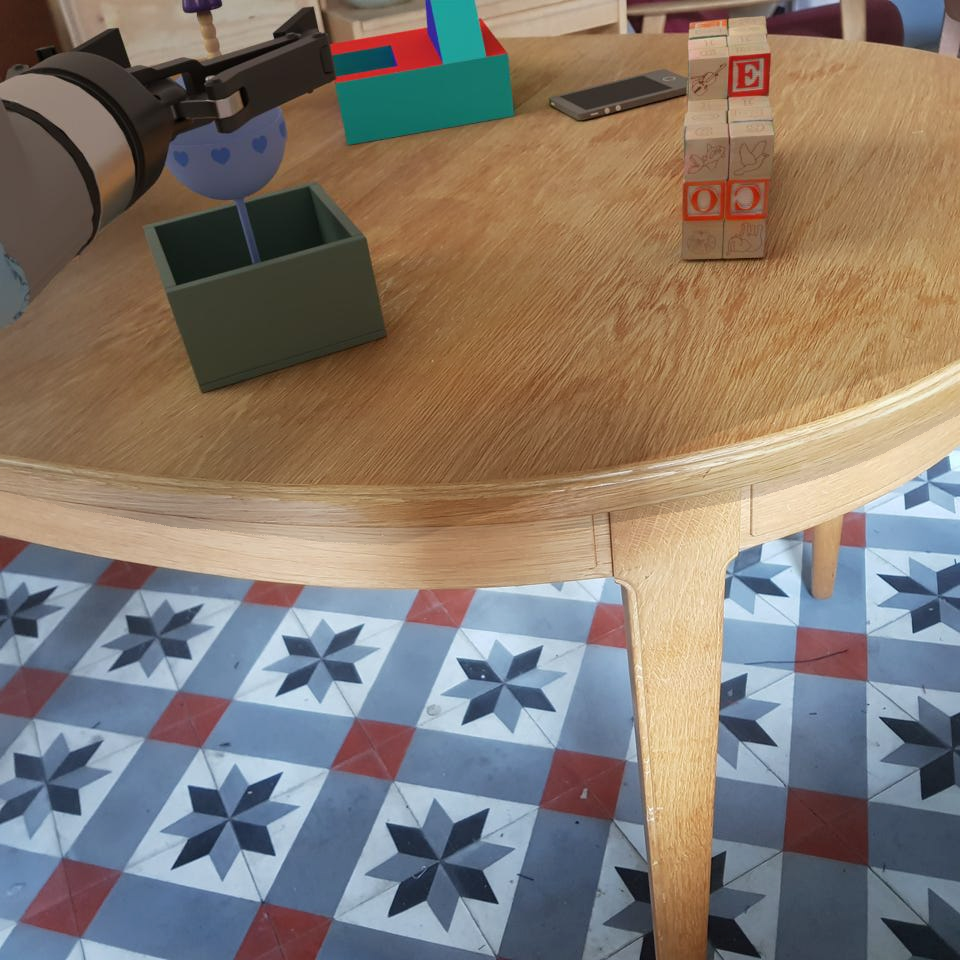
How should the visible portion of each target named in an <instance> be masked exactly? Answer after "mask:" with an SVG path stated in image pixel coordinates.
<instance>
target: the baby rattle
mask: <svg viewBox="0 0 960 960" xmlns="http://www.w3.org/2000/svg"><path fill="white" fill-rule="evenodd" d="M174 81H175V82H176V83H178V84H179V85H180V86H182V87H183V88H184V89H185V90H186V88H185V85H184V81H183V78H182V75H180V76H178V77H177V78H176V79H175V80H174ZM287 140H288V128H287V123H286V119H285V116H284V113H283V110H282V109H281V107H280V106H278V107H276V108H273V109H271V110H269V111H267V112H265V113H263V114H260V115H258V116H256V117H254V118H252V119H251V120H249V121H248V122H247V123H246V124H244V125H243V126H242V127H241V128H239V129H238V130H236V131H234V132H232V133H229V134H226V133H224V134H222V133H218V131H217V128H216V125H215V121H213V122H212V123H210V124H208V125H205V126H202V127H199V128H196V129H193V130H190V131H187V132H185V133H182V134H179V135H177V137H176V138H175V140H174V141H172V142H170V144H169V149H168V154H167V158H166V162H165V166H164V167H167V169H168V171H169V172H170V173H171V174H172V175H173V177H174V178H175V179H177V181H178V182H179V183H181V185H183V186H184V187H185V188H187V189H189V190H190V191H191V192H193V193H195V194H197V195H200V196H202V197H205V198H208V199H212V200H219V201H233V202H236V205H237V208H238V212H239V215H240V220H241V222H242V227H243V229H244V234H245V237H246V241H247V244H248V248H249V251H250V255H251V258H252V263H253V264H257V263H260V262H261V261H260V258H259V253H258V250H257V246H256V243H255V239H254V236H253V231H252V229H251V224H250V221H249V217H248V214H247V209H246V206H245V202H244V199H246V198H247V197H250V196H252V195H254V194H256V193H258V192H259V191H261V190H262V189H264V187H266V186H267V185H268V184H269V183H270V182H271V181H272V179H273V178H274V177H275V175H276V174H277V172H278V171H279V170H280V169H279V168H280V167H281V164H282V162H283V159H284V157H285V156H284V155H285V150H286V142H287Z"/></svg>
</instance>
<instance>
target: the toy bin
mask: <svg viewBox="0 0 960 960" xmlns="http://www.w3.org/2000/svg"><path fill="white" fill-rule="evenodd" d="M244 202H245V206H246V209H247V214H248V217H249V221H250V224H251V229H252V231H253V236H254V239H255V243H256V246H257V250H258V253H259V258H260V261H261V262H260V263H257V264H253V263H252V258H251V255H250V251H249V248H248V244H247V241H246V237H245V234H244V229H243V227H242V222H241V220H240V215H239V212H238V208H237V205H236V202H235V201H233V202H230V203H225V204H221V205H217V206H214V207H211V208H206V209H203V210H198V211H195V212H191V213H187V214H183V215H179V216H175V217H172V218H167V219H164V220H160V221H156V222H153V223H148V224H145V225H142V229H143V232H144V235H145V238H146V241H147V244H148V246H149V250H150V253H151V255H152V259H153V261H154V263H155V266H156V269H157V272H158V275H159V278H160V281H161V284H162V287H163V290H164V292H165V295H166V298H167V301H168V304H169V306H170V309H171V312H172V315H173V317H174V320H175V324H176V326H177V329H178V331H179V335H180V338H181V340H182V343H183V346H184V349H185V351H186V354H187V356H188V360H189V362H190V366H191V368H192V371H193V374H194V377H195V380H196V383H197V385H198V387H199V391H200V393H201V394H203V393H207V392H210V391H213V390H217V389H220V388H223V387H227V386H230V385H233V384H236V383H239V382H243V381H245V380H249V379H252V378H255V377H259V376H262V375H265V374H269V373H271V372H275V371H279V370H282V369H285V368H288V367H293V366H294V365H297V364H302V363H305V362H307V361H311V360H314V359H316V358H317V359H318V358H320V357H324V356H327V355H331V354H334V353H337V352H340V351H343V350H347V349H350V348H353V347H356V346H360V345H363V344H366V343H369V342H373V341H376V340H379V339H382V338H386V337H387V336H388V335H387V329H386V325H385V320H384V316H383V311H382V306H381V300H380V297H379V292H378V291H379V290H378V286H377V282H376V277H375V273H374V272H375V271H374V267H373V263H372V257H371V253H370V248H369V243H368V238H367V237H366V235H365V234H364V232H362V230H360V229H359V227H358V226H357V225H356V224H355V223H354V222H353V221H352V220H351V218H350V217H349V216H348V215H347V213H346V212H344V210H342V208H341V207H340V206H339V205H338V204H337V203H336V202H335V200H334V199H333V198H332V197H331V196H330V195H329V194H328V192H327V191H326V190H325V189H324V188H323V187H322V186H321V185H320V184H319V182H318V181H317V180H313V181H309V182H306V183H302V184H298V185H294V186H291V187H287V188H283V189H279V190H275V191H271V192H268V193H264V194H260V195H256V196H252V197H249V198H245V199H244Z"/></svg>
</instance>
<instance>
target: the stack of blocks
mask: <svg viewBox="0 0 960 960" xmlns="http://www.w3.org/2000/svg"><path fill="white" fill-rule="evenodd" d="M771 51H772V50H771V46H770V43H769V42H768V29H767V19H766V16H765V15H759V16H757V15H756V16H745V17H744V16H743V17H734V18H733V17H732V18H728V19H713V20H703V21H693V22H690V23H689V29H688V39H687V78H688V81H687V93H686V113H685V114H684V120H683V178H682V191H681V192H682V194H681V197H682V198H681V199H682V201H681V204H682V205H681V220H682V221H681V230H682V231H681V247H682V248H681V260H716V259H717V260H718V259H719V260H720V259H753V258H754V259H755V258H756V259H757V258H764V257H765V251H766V250H765V249H766V239H767V238H766V237H767V236H766V235H767V234H766V233H767V220H768V219H767V218H768V214H769V202H770V187H771V177H772V176H773V166H774V151H775V135H776V134H775V129H774V128H775V127H774V124H773V120H774V118H773V112H772V106H771V101H770V100H771V99H770V97H769V96H770V80H771V63H772V62H771V60H772V52H771Z"/></svg>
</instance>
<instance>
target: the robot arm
mask: <svg viewBox="0 0 960 960" xmlns="http://www.w3.org/2000/svg"><path fill="white" fill-rule="evenodd" d="M319 29H320V28H319V24H318V20H317V15H316V10H315V6H313V5H312V6H303V7H301V8H300V9H299V10H298V11H297V12H296V13H294V14H293V15H291V17H290V18H289V19H287V20H286V21H285V22H284V23H283V24H282V25H280V26H279V27H277V29H276V30H274V31H273V32H272V36H273V38H272V39H270V40H267V41H263V42H260V43H256V44H254V45H250V46H247V47H244V48H241V49H237V50H234V51H231V52H228V53H224V54H222V55H221V56H218V57H215V58H211V59H208V58H207V59H205V60H202V61H199V60H197V59H194V58H189V57H186V56H183V57H182V56H181V57H178V58H174V59H171V60H167V61H165V62H162V63H158V64H155V65H151V66H147V65H143V64H136V65H133V66H132V65H131V62H130V59H129V56H128V53H127V52H128V51H127V49H126V46H125V43H124V40H123V37H122V33H121V31H120V28H119V27H110V28H107V29H105V30H104V31H102V32H100V33H98V34H97V35H94V36H93V37H91V38H90V39H88V40H86V41H85V42H82V43H81V44H78V46H76V47H74V48H72V49H70V50H68V51H67V52H66V51H65V52H59V53H58V50H57V48H56V46H55V45H47V46H46V45H45V46H42V47H38V48H36V49H34V52H35V55H36V57H37V60H38V63H36V64H35V65H33V66H31V67H30V66H29V65H28V64H22V63H17V64H13V65H12V66H11V67H9V68H8V69H7V72H6V75H5V80H4V81H2V82H0V331H1V330H4V328H5V327H6V326H9V325H14V324H15V322H17V321H18V320H19V319H20V318H21V317H22V316H23V315H24V314H25V313H26V311H27V308H28V307H29V305H30V304H31V303H33V301H34V300H35V299H36V298H37V297H38V296H39V294H40V293H42V291H44V289H45V288H46V287H47V286H48V285H49V284H50V282H52V280H54V279H55V277H56V276H57V275H58V274H59V273H60V272H61V271H62V270H63V269H64V268H65V267H66V266H68V265H69V263H70V262H76V261H77V260H78V259H79V258H80V257H81V255H82V253H83V252H84V250H85V249H86V248H87V247H88V246H89V245H90V244H91V243H92V242H93V241H94V240H95V239H96V238H98V236H99V235H101V233H103V232H104V231H105V230H106V229H107V228H108V227H109V226H110V225H112V223H114V222H115V221H116V220H117V219H118V218H119V217H120V216H122V214H124V213H125V212H126V211H128V210H129V209H130V208H131V207H132V206H133V205H134V204H135V203H137V202H138V200H140V199H141V198H142V197H143V196H144V195H145V194H146V193H147V192H148V191H149V190H150V189H151V188H152V187H153V186H154V185H155V184H156V182H158V180H159V178H160V177H161V175H162V173H163V171H164V168H165V167H166V166H165V162H166V158H167V154H168V149H169V144H170V142H172V141H174V140H175V138H176V137H177V135H179V134H182V133H185V132H187V131H190V130H193V129H196V128H199V127H202V126H205V125H208V124H210V123H212V122H213V121H215V125H216V128H217V131H218V133H222V134H224V133H226V134H229V133H232V132H234V131H236V130H238V129H239V128H241V127H242V126H243V125H244V124H246V123H247V122H248V121H249V120H251V119H252V118H254V117H256V116H258V115H260V114H263V113H265V112H267V111H269V110H271V109H273V108H276V107H278V106H279V107H280V106H282V105H284V104H286V103H288V102H290V101H293V100H295V99H297V98H299V97H301V96H303V95H305V94H308V95H309V94H312V93H314V90H317V89H318V88H320V87H323V86H325V85H327V84H331V83H332V82H333V81H334V80H336V79H337V76H336V71H335V66H334V61H333V57H332V52H331V47H330V44H331V42H330V38H329V34H328V33H326V32H321V31H320V30H319ZM177 75H180V76H182V78H183V81H184V85H185V88H186V90H185V89H184V88H183V87H182V86H180V85H179V84H178V83H176V82H175V80H174V79H173V78H172V77H175V76H177ZM334 82H335V81H334Z"/></svg>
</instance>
